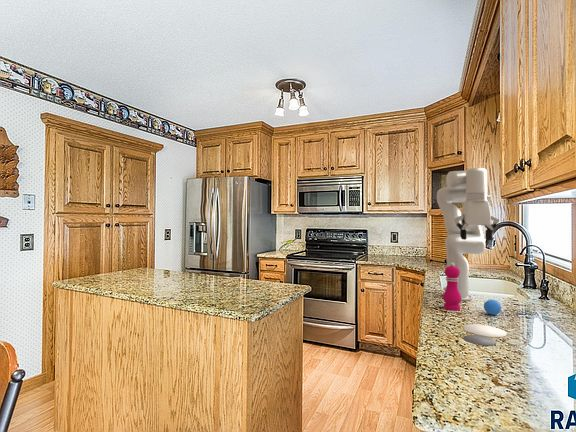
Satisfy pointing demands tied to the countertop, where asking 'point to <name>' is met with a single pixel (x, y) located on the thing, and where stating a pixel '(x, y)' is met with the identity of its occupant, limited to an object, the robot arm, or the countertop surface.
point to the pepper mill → (452, 288)
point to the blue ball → (492, 307)
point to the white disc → (484, 330)
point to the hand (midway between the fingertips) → (476, 239)
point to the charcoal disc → (479, 340)
